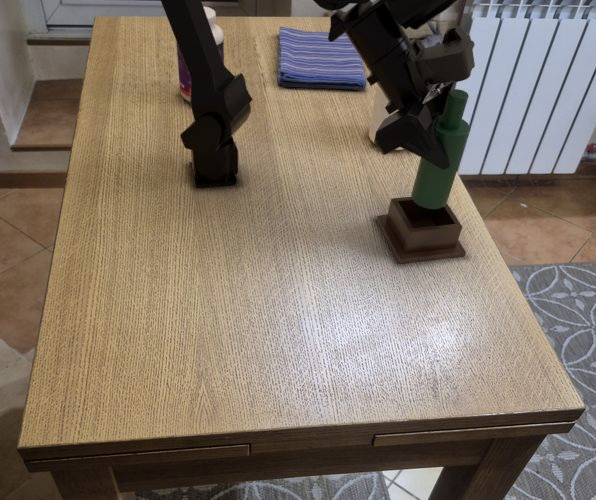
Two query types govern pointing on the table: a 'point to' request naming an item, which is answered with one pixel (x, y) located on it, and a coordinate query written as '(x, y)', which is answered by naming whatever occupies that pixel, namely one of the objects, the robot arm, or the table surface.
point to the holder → (420, 231)
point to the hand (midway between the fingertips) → (451, 157)
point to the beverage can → (379, 113)
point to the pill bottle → (183, 72)
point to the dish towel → (318, 61)
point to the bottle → (453, 134)
